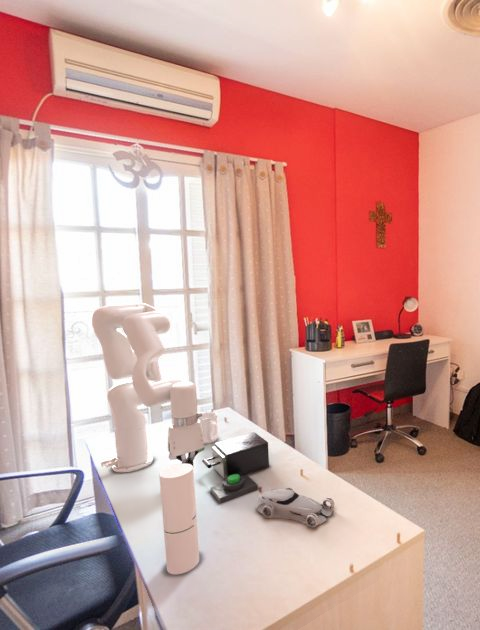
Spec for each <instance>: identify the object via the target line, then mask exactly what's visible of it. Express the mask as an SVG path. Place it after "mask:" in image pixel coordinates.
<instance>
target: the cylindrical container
mask: <svg viewBox="0 0 480 630" xmlns="http://www.w3.org/2000/svg"><path fill="white" fill-rule="evenodd" d="M194 475H195V473H194V465H193V466H192V465H191V464H187V463H183V464H182V463H177V464H173V465H170V466H167V467H165V468H163V469H161V471H160V472H159V475H158V476H159V486H160V487H159V488H160V500H161V510H162V511H161V513H162V525H163V537H164V550H165V561H166V562H165V563H166V571H167V572H168V574H170V575H182V574H185V573H188V572H190V571H192V570H193V569H194V568H195V567H196V566H197V565H198V564H199V563H200V547H199V533H198V531H199V530H198V519H197V504H196V489H195V476H194Z"/></svg>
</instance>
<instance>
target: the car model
mask: <svg viewBox="0 0 480 630" xmlns="http://www.w3.org/2000/svg"><path fill="white" fill-rule="evenodd" d="M256 499H257V501H258V502H260V503H261V504H259V506H258V507H257V511H258V512H259V513H260V514H261V515H263V516H264V518H268V519H270V518H277V519H278V518H279V519H281V518H282V519H287V520H293V521H296V522H299V523H302V524H305V525H306V526H308V527H310V528H315V527H317V526H319V525H321V524H323V523H325V522H326V521H327V518H329V517H331V516H332V514H333V510H334V508H335V505H336V504H335V500H334V499H333V498H332V497H326V498H324V499H323V500H322V503H321V502H319V501H317V500H315V499H313V498H311V497H309V496H306V495H302V494H300V493H297V492H296V491H294V489H293V488H292V487H286V488H284V489H268V490H264V491H262V492H261V493H259V494H258V495H257V497H256ZM327 502H328V503H329V504H330V506H328V504H327Z"/></svg>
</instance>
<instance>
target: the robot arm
mask: <svg viewBox="0 0 480 630" xmlns="http://www.w3.org/2000/svg"><path fill="white" fill-rule="evenodd" d="M90 325H91V329H92V331H93V333H94V335H95V336H96V338H97V340H98V342H99V343H100V344H99V345H100V347H101V351H102V352H101V353H102V357H103V361H104V364H105V370H106V372H107V375H108V376H109V378H110V379H112V380H123V379H128V378H131V380H128V381H124V382H120V383H117V384H115V385H113V386H112V387H111V388H109V390H108V391H107V401H108V404H109V408H110V410H111V411H110V412H111V415H112V422H113V431H114V441H115V451H116V452H115V454H114V457H111V458H110V459H105V460H101V461H100V465H101V467H106V468H110V467H112V471H114V472H116V473H130V472H134V471H138V470H142V469H143V468H146V467H148V466H150V465H151V464H152V463H153V461H154V456H153V455H152V454H149V450H148V438H147V425H146V418H145V414H144V413H143V412H142V411H141V410H140V409H138V408H137V407H138V406H142V405H144V406H145V407H147V408H154V407H157V406H161V405H164V404H167V403H170V413H171V424H169V426H168V433H167V451H168V453H169V454H168V459H169V460H170V461H173V460H178V461H180V462H181V464H183V463H187V464H191V465H192V466H193V467H194V460H195V458H196V456H197V455H198V454H199V453H201V452H203V451H205V444H204V437H203V431H202V427H201V423H200V420H199V419H198V418H199V417H201V416H202V413H203V412H198V401H197V399H198V397H197V386H196V383H193V382H191V381H186V380H185V379H183V378H181V377H172V378H169V379H164V380H162V375H161V370H160V367H159V362H158V359H159V358H160V357H162V355H164V353H165V347H164V345H163V343H162V341H161V339H160V337H159V335H161V334H166V333H168V332H169V331H170V329H171V320H170V318H169V317H168V316H167V314H166V313H165V312H163V311H162V310H160V309H158V308H156V307H155V306H152V305H150V304H147V303H144V302H134V303H133V302H132V303H123V304H122V303H120V304H110V305H104V306H101V307H100V306H99V307H98V308H96V309H94V310H93V312H92V313H91V316H90ZM120 329H122V331H121V330H120ZM186 455H187V456H186Z"/></svg>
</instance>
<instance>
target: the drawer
mask: <svg viewBox="0 0 480 630" xmlns="http://www.w3.org/2000/svg"><path fill="white" fill-rule="evenodd" d="M211 455H212V457H209V458H203V459H202V460H201V463H203V464H204V465H205V466H206V468H207V469H211V468H212V467H213V469H214V470H215V471H216V472H217V473H218V474H219V475H220V476H221V477H222V479H224V480H225V479H226V478H227V461H226V455H225V454H223V453H222V452H221V451H220V450H219V449H218V448H217V447H216V446H215V445H214V446H211ZM209 461H212V463H211V462H209Z"/></svg>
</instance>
